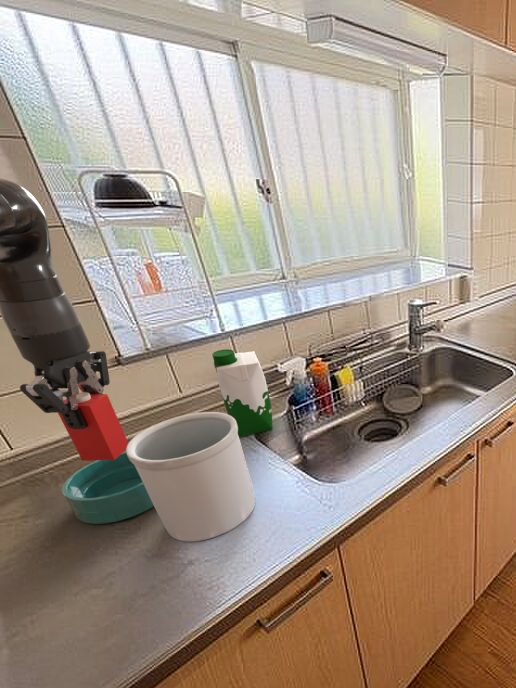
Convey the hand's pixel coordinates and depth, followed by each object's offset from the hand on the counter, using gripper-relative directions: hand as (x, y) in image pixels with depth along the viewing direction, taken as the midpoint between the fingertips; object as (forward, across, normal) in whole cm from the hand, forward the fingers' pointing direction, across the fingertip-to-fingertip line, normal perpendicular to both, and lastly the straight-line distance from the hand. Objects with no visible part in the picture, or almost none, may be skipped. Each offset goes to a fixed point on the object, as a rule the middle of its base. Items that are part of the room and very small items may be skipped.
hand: (90, 420), depth 71 cm
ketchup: (+7, 0, 0) cm, 7 cm away
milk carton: (+18, -24, +13) cm, 33 cm away
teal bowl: (+17, 0, 0) cm, 17 cm away
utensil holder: (+18, +5, +17) cm, 25 cm away
